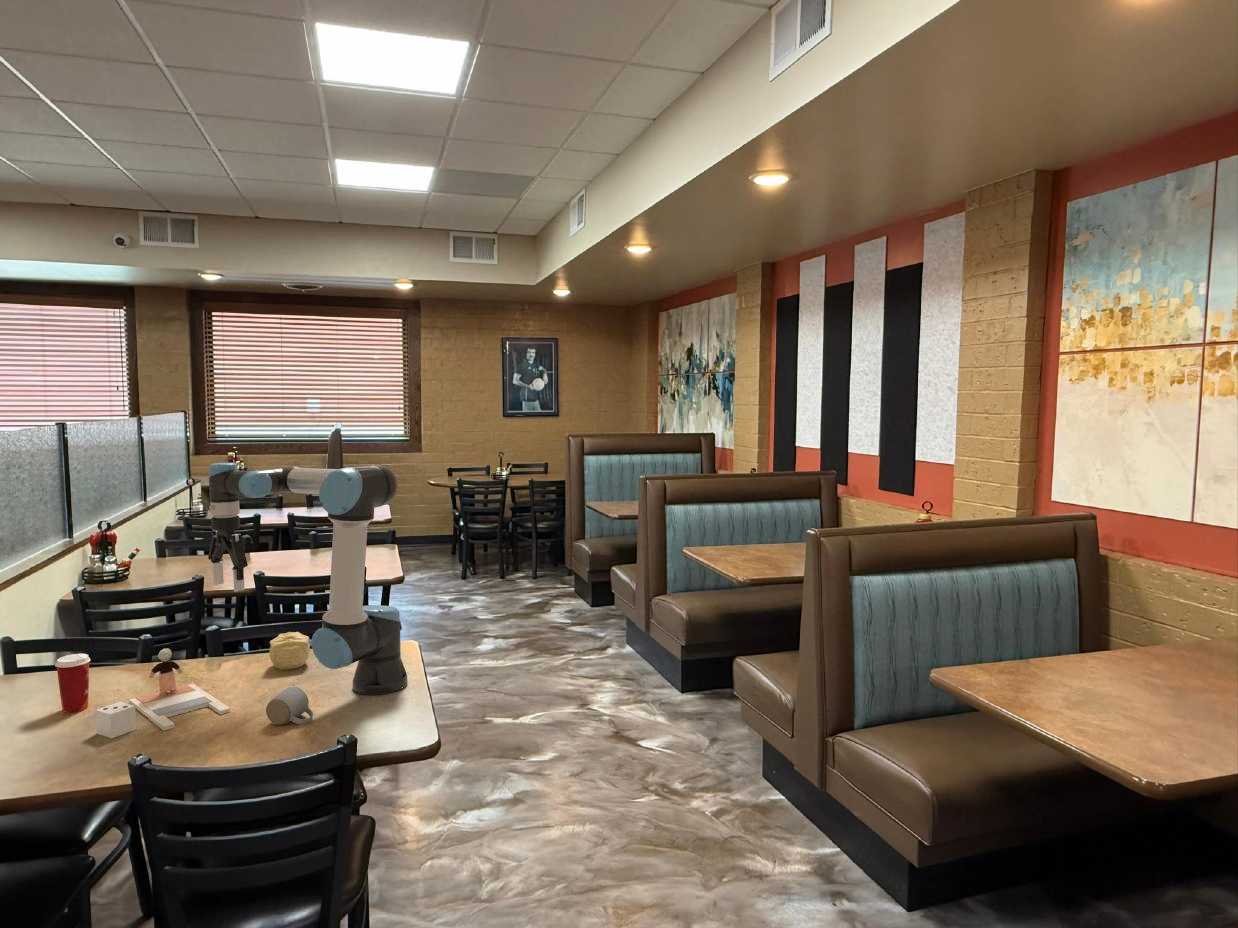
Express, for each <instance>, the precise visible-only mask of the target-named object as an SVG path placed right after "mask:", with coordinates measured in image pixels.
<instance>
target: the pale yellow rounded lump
mask: <svg viewBox="0 0 1238 928" xmlns="http://www.w3.org/2000/svg"><path fill="white" fill-rule="evenodd" d="M309 642H310V637H309V636H307V635H306V634H305V635H304V634H303V633H300V632H299V631H296V632H294V631H292V632H291V631H288V632H286V633H279V634H278V635H277V636H276V637H275V638H273V639H272V640H270V641H269V644H270V645H269V646H270V647H269V659H270V661H271V663H272V665H273V666H274V667H275V668H277V669H279V670H293V669H298V668H301V667H302V666H303V665H305V664H306V662H307V661H308V659H309V656H310V651H311V646H310V643H309Z"/></svg>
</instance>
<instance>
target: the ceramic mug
mask: <svg viewBox="0 0 1238 928" xmlns="http://www.w3.org/2000/svg"><path fill="white" fill-rule="evenodd" d="M309 701H310V700H309V698H308V695H307V693H306V692H305V691H304V690H303V689H302V688H300V687H299V686H295V685H293V686H288V687H287V688H285V689H284V690H283V691H281V692H279V694H277V695H276V696H274V697H272V699H271V700H270V701H268V703H267V705H266V708H265V714H266V717H267V719H268V720H269V721H270V722H271V723H272V724H273V725H277V726H283V725H286V724H288V723H290V722H292V723H294V724H296V725H307V724H309V723H311V722H312V720H313V717H314V712H313V711H312V709H311V708H310V707H309V704H310V703H309ZM304 713H306V714H308V716H309V717H308V718H305V719H301V718H298V717H300V716H301V715H303V714H304Z"/></svg>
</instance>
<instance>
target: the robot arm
mask: <svg viewBox="0 0 1238 928" xmlns="http://www.w3.org/2000/svg"><path fill="white" fill-rule="evenodd" d="M207 479H208V487H209V501H210V502H209V503H210V505H209V507H208V509H209V510H210V515H211V516H212V517H211V518H210V525H211V541H210V545H209V546H210V547H209V551H208V556H207V559H208V560H209V561H210V562H211V565H212V568H211V569H212V585H213V586H217V585H218V586H219V585H222V584H224V563H223V562H224V559H223V556H224V554H225V551H227V552H228V555H229V557H230V561H231V563H232V565H233V567H232V568H231V569H232V577H233V579H232V581H233V592H234V593H238V592H241V591H245V589H246V588H245V571H244V569H245V568H246V567H247V568H248V565H249V564H248V561H247V560H248V559H247V557H246V552H245V550H244V546H243V542H242V541H243V540H242V534H241V533H236V530H238V529H240V528H241V519H240V517H241V516H239V514H241V513H240V511H241V510H240V497H241V498H250V499H256V498H264V497H266V496H268V495H274V494H286V493H287V494H311V495H318V496H319V497H318V498H319V503H321V504H322V506H321V507H322V509H323V510H324V511H325V512H327V519H328V520H330V522H331V523H333V525H332V526H333V529H332V544H331V546H332V547H331V563H330V565H331V567H330V582H329V603H328V610H327V611H326V612H324V613H323V615H322V618H321V619H322V620H321V621H322V622H321V628H318V629H317V630H316V631H315V632H314V633H313V635H312V638H311V649H312V652H313V655H314V657H315V658H316V659H317V660H318V662H319V663H320V665H322V666H324V667H325V668H327V669H330V670H338V669H341V668H347V667H348V666H350V665H351V664H354V663H357V666H356V668H355V672H354V675H353V678H352V690H353V691H354V692H355V693H358V694H361V695H367V694H372V695H371V696H374V695H375V694H378V695H385V694H384V693H386V694H390V693H394V692H393V691H395V692H397V691H396V690H398V691H400V690H402V689H403V688H402V687H404V686H405V685H406V684H407V685H408V674H407V670H406V669H405V665H404V663H403V660H402V657H401V652H402V651H401V622H402V621H401V617H400V616H401V615H400V611H399V609H398V608H396V607H394V606H390V605H374V604H373V605H363V604H364V593H365V592H364V589H365V571H366V558H367V557H366V556H367V555H366V554H367V553H366V552H367V539H368V525H369V524H370V523H372V521H374V518H375V508H379V507H384V506H385V505H387V504H389V503H390V502H391V501H392V500H393V499H394V498H395V496H396V495H397V493H398V489H399V482H398V478H397V476H396V474H395V473H394V472H393V470H391V469H390V468H388V467H387V466H385V465H380V464H372V465H363V466H361V465H360V466H351V467H349V466H348V467H347V466H345V467H342V468H337V469H336V468H312V467H311V468H310V467H306V468H305V467H298V466H285V467H279V468H278V467H277V468H275V467H274V468H263V469H256V470H239V468H238V464H237V463H235V462H217V463H216V462H215V463H211V464H210V465H209V468H208V478H207ZM407 685H406V686H407ZM406 686H405V687H406ZM405 687H404V688H405ZM401 688H402V689H401ZM399 689H400V690H399ZM373 694H374V695H373Z"/></svg>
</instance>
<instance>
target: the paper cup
mask: <svg viewBox="0 0 1238 928" xmlns="http://www.w3.org/2000/svg"><path fill="white" fill-rule="evenodd" d="M90 662H91V658H90V657H89V654H87V653H72V654H67V655H64V656H61V657H59V658H58V659H57V660H56V663H55V665H54V666H55V667H56V670H57V671H56V672H57V678H58V680H57V681H58V686H59V695H60V701H61V703H60V704H61V708H62V712H63V713H64V714H74V712H75V713H79V712H78V711H80V712H82V710H83V711H84V710H87V709H88V707H89V697H90V695H89V691H90V689H89V685H90V684H89V683H90V680H89V679H90Z"/></svg>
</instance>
